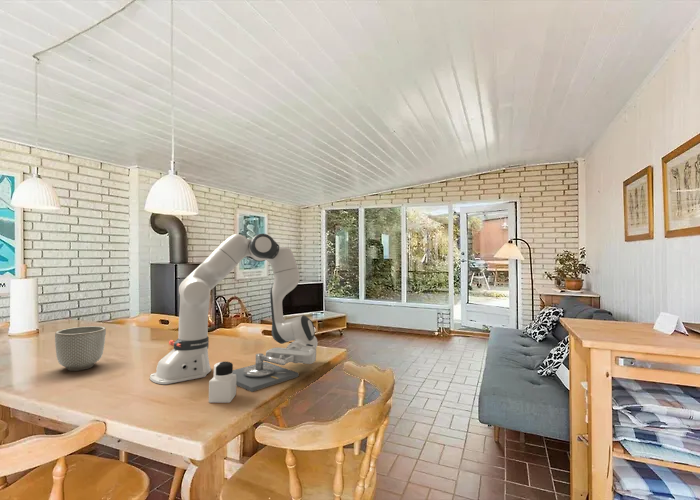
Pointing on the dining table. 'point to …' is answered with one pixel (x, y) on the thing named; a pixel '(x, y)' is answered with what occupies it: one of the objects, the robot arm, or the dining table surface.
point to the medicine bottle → (222, 383)
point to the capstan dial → (262, 366)
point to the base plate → (263, 378)
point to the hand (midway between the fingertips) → (282, 361)
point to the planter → (79, 346)
